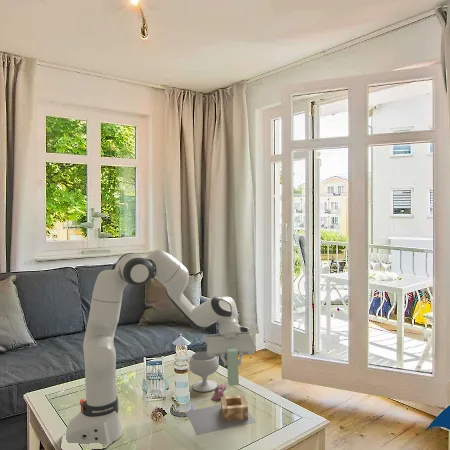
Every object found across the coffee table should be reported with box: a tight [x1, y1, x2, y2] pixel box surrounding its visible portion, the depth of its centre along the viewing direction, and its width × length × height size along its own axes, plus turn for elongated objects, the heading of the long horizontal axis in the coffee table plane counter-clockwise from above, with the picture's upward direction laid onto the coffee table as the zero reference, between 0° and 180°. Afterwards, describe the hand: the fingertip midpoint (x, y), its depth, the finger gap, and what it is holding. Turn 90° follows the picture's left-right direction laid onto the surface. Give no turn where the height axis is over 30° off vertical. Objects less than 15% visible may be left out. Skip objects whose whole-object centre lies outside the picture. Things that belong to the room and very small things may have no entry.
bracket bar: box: [226, 347, 240, 387], centre depth 165 cm, size 4×4×14 cm
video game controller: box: [210, 383, 227, 401], centre depth 183 cm, size 10×5×7 cm, turn 169°
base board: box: [186, 404, 257, 436], centre depth 164 cm, size 24×18×2 cm
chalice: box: [188, 350, 220, 393], centre depth 194 cm, size 14×14×15 cm
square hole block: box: [220, 394, 249, 421], centre depth 166 cm, size 10×10×5 cm
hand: (232, 364), depth 164 cm, fingers closed on bracket bar, 4 cm apart
